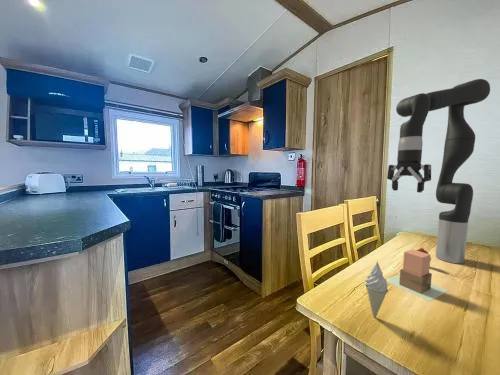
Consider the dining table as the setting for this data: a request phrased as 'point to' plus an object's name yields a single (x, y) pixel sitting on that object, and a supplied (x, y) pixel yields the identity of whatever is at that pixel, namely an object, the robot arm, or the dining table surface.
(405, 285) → the walnut block
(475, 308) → the dining table surface
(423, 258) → the terracotta block
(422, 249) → the red oval piece
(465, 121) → the robot arm
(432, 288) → the sage board
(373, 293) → the ice cream cone
